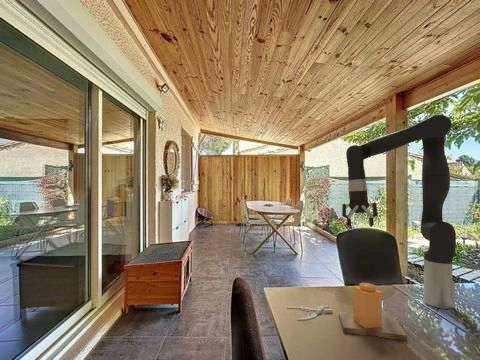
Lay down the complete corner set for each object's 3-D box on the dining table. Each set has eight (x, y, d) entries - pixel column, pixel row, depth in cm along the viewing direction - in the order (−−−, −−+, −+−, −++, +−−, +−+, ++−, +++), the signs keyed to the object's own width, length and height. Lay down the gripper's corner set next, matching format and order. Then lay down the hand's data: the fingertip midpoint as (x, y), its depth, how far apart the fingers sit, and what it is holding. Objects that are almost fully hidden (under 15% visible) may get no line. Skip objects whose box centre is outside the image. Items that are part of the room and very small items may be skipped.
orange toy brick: (368, 317, 92) (369, 281, 93) (381, 326, 87) (382, 288, 87) (353, 319, 91) (353, 282, 91) (365, 328, 85) (365, 289, 85)
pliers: (287, 304, 102) (323, 301, 105) (287, 308, 102) (323, 305, 105) (298, 317, 92) (337, 313, 95) (298, 321, 92) (337, 318, 95)
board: (394, 322, 92) (394, 303, 92) (406, 340, 82) (407, 318, 82) (338, 315, 96) (339, 297, 96) (343, 332, 86) (343, 311, 86)
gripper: (342, 190, 119) (344, 228, 118) (377, 189, 116) (380, 227, 115) (339, 191, 126) (342, 226, 125) (372, 189, 123) (375, 225, 122)
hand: (360, 226), depth 120 cm, fingers open, 8 cm apart
